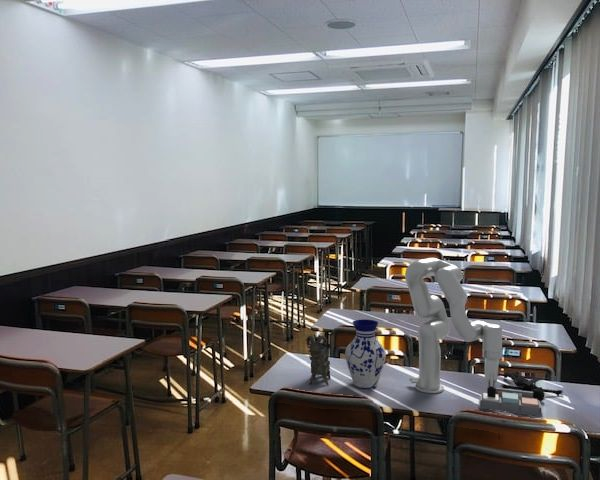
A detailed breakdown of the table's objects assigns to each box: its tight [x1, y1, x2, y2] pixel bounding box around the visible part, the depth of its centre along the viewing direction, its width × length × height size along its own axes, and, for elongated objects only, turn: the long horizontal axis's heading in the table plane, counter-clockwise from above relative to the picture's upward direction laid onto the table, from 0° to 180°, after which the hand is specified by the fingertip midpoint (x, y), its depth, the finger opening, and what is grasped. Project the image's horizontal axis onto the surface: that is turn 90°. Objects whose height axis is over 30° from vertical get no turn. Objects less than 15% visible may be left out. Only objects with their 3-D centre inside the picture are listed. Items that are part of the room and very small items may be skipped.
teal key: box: [502, 392, 518, 404], centre depth 212 cm, size 6×6×3 cm
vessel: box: [305, 333, 332, 386], centre depth 244 cm, size 11×25×24 cm, turn 170°
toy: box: [500, 371, 564, 402], centre depth 232 cm, size 29×7×30 cm
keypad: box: [478, 386, 544, 417], centre depth 213 cm, size 24×11×6 cm, turn 69°
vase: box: [344, 319, 387, 390], centre depth 239 cm, size 19×19×30 cm
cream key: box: [482, 392, 499, 402], centre depth 215 cm, size 6×6×3 cm
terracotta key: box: [521, 397, 538, 407], centre depth 209 cm, size 6×6×3 cm
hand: (491, 396), depth 214 cm, fingers closed
